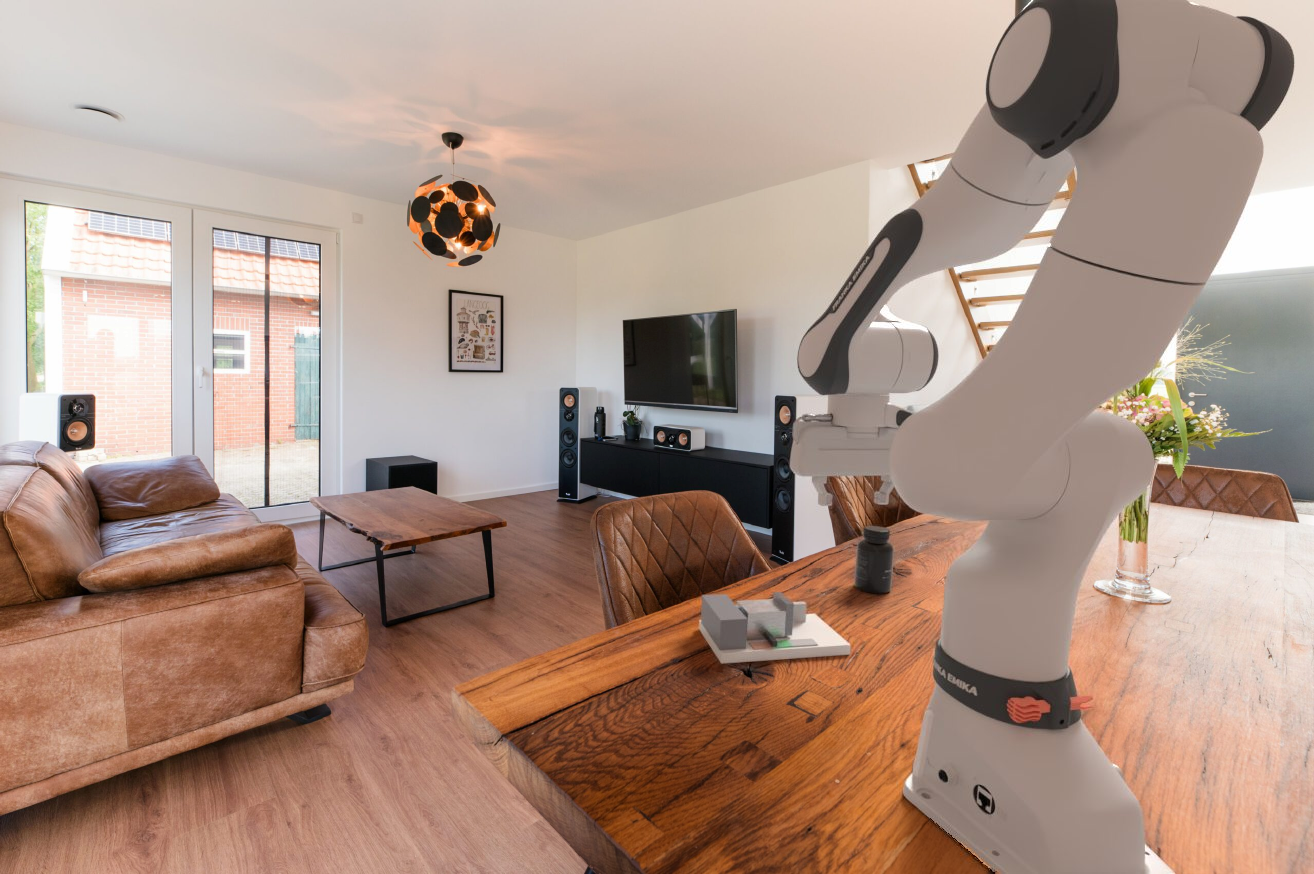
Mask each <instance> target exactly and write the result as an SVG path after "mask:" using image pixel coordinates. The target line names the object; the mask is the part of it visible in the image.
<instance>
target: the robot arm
mask: <svg viewBox="0 0 1314 874" xmlns="http://www.w3.org/2000/svg"><path fill="white" fill-rule="evenodd" d="M1294 54H1295V53H1294V51H1293V48H1292V46H1291V44H1290V41H1288V40H1287V39H1286V37H1284V36H1283V35H1282V33H1280V32H1279V31H1278V30H1277V29H1275V28H1274V27H1272V26H1270V25H1268V24H1267V23H1265V22H1263V21H1261V20H1259V19H1257V18H1255V17H1251V16H1247V15H1246V16H1245V15H1241V16H1240V15H1237V16H1234V15H1231V14H1229V13H1227V12H1224V11H1220V10H1218V9H1215V8H1211V7H1209V6H1204V5H1202V4H1197V3H1194V2H1190V1H1189V0H1031V1H1030V2H1028V4H1026V6H1025V7H1024V8H1023V9H1022V10H1021V11H1020V12H1019V13H1018V14H1017V15H1016V16H1015V18H1013V20H1012V21H1011V22H1010V23H1009V25H1008V27H1007V28H1006V29H1005V31H1004V33H1003V34H1002V36H1001V38H1000V39H999V42H998V43H997V46H996V48H995V50H994V52H993V55H992V58H991V61H990V63H989V66H988V70H987V75H986V79H985V81H986V82H985V99H986V102H984V104H983V106H982V107H981V108H980V110H979V111H978V112H977V114H976V116H975V118H973V120H972V122H971V123H970V125H969V127H968V128H967V130H966V132H965V133H964V135H963V137H962V139H961V140H960V142H958V143H959V144H958V145H957V147H956V149H955V151H954V152H953V154H952V157H951V159H950V160H949V161H948V164H947V165H946V167H944V168H945V169H943V172H942V173H941V174H940V175H939V177H938V178H937V180H935V182H933V184H932V185H931V186H930V187H929V188H928V189H927V190H926V192H924V193H923V195H922V196H920V197H919V198H918V199H917V200H916V201H915V202H913V203H912V204H911V205H910V206H908V208H906V209H904V210H902V211H901V212H899V213H897V214H895V215H894V216H892V218H890V219H889V220H888V221H887V222H886V223H885V224H884V226H883V227H882V228H881V230H880V231H879V232H878V234H877V235H876V236H875V238H874V239H873V240H872V242H871V243H870V245H869V246H868V248H867V249H866V250H865V252H864V254H862V256H861V258H860V259H859V261H858V262H857V264H856V265H855V267H854V268H853V270H852V271H851V272H850V274H849V276H848V277H847V278H846V280H845V282H844V283H843V285H842V286H841V287H840V289H839V291H838V292H837V294H836V296H834V298H833V300H832V301H831V303H830V304H829V305H828V307H827V309H825V310H824V312H823V313H822V314H821V316H820V317H818V318H817V320H816V321H814V323H812V325H811V326H810V327H809V328H808V329H807V331H806V332H805V333H804V335H803V337H802V338H801V341H800V343H799V347H798V351H797V357H796V358H797V359H796V360H797V368H798V369H797V370H798V372H799V374H800V376H801V377H802V379H803V380H804V381H805V382H806V384H807V385H808V386H809V387H810V388H812V390H813V391H815V392H816V393H817V394H818V395H821V396H827V399H828V400H827V413H818V414H817V413H816V414H813V413H804V414H802V415H801V416H799V417H797V418H796V419H795V421H793V425H792V439H793V440H792V445H791V450H790V458H789V468H790V470H791V472H792V473H793V474H794V475H797V476H800V477H811V483H812V484H813V485H812V486H813V487H814V489H815V490H816V493H817V503H818V505H819V506H822V507H830V506H831V507H832V505H833V499H834V498H833V497H834V495H833V494H831V493H830V492H828V491H827V490H826V487H825V485H824V484H827V481H828V477H857V476H858V477H859V476H861V477H862V476H863V477H867V476H868V477H869V476H870V477H872V476H873V477H874V476H875V477H876V476H879V477H880V481H882V482H883V483H882V484H881V487H880V488H879V490H878V491H874V492H873V496H874V498H873V502H874V504H877V505H881V506H882V505H885V506H886V505H888V504H890V503H889V501H890V494H891V492H892V491H893V489H895V491H896V493H897V494H898V496H899V497H900V498H901V500H903V502H904V503H905V504H906V505H907V506H908V508H910V509H912V510H913V511H915V512H918V513H920V514H924V515H929V516H934V517H939V518H942V519H949V520H954V521H955V520H956V521H961V522H987V521H988V523H987V524H986V527H985V528H984V530H983V531H982V533H981V535H980V536H979V538H978V539H977V540H976V541H975V543H974V544H973V545H972V546H971V547H970V548H968V549H967V550H966V551H964V552H963V553H961V554H960V555H959V556H958V557H957V558H956V559H955V560H953V562H952V563H951V564H950V566H949V567H948V569H947V571H946V575H945V579H944V591H943V604H942V616H941V627H940V629H941V630H940V637H939V638H938V639H937V640H936V642H935V646H934V647H935V649H934V652H933V656H932V664H933V668H932V676H933V677H932V678H933V680H934V681H935V683H934V684H935V685H934V689H933V692H932V694H931V697H930V699H929V701H928V702H929V703H928V704H927V707H926V708H925V711H924V714H923V717H922V718H923V719H922V722H921V728H920V732H919V738H918V742H917V747H916V749H917V750H916V754H915V758H914V760H913V762H912V763H913V764H912V772H911V773H910V774H909V775H908V777H907V778H906V779H905V781H904V783H903V789H902V794H903V796H904V797H905V798H906V800H907V801H909V802H910V803H911V804H912V805H913V806H915V807H916V808H917V809H918V810H919V811H920V812H921V813H923V814H924V815H925V816H927V817H928V818H929V819H930V818H931V819H932V820H933V821H935V822H934V823H935V824H936V823H937V824H938V825H939V826H940V827H939V826H938V825H937V824H936V825H937V826H938V827H939V828H941V827H942V828H943V829H944V830H945V831H946V832H947V833H946V832H945V831H944V830H943V829H942V828H941V829H942V830H943V831H944V832H945V833H946V834H948V833H949V834H950V835H952V836H953V837H954V838H955V839H957V840H958V841H960V842H962V843H963V844H964V845H965V846H967V848H969V849H971V851H972V852H973V853H975V854H976V855H977V856H978V857H979V858H981V860H983V862H985V863H986V864H987V865H988V866H990V867H991V868H993V869H995V871H997V872H999V873H1001V874H1176V873H1175V871H1173V870H1172V869H1171V868H1170V867H1169V866H1168V864H1166V862H1164V861H1163V859H1162V858H1161V857H1159V856H1158V855H1157V854H1156V853H1155V852H1154V851H1153V850H1152V849H1151V848H1150V847H1149V846H1148V845H1147V844H1146V834H1145V832H1146V831H1145V830H1146V829H1145V821H1144V815H1143V810H1142V806H1141V804H1140V802H1139V800H1138V798H1137V796H1136V795H1135V794H1134V793H1133V791H1132V790H1131V788H1130V787H1129V786H1128V784H1127V783H1126V778H1125V776H1124V773H1123V771H1122V770H1121V768H1120V767H1119V766H1118V765H1117V764H1115V763H1113V762H1111V761H1110V759H1109V758H1108V756H1107V755H1106V754H1105V752H1104V751H1103V749H1102V748H1101V747H1100V745H1099V744H1098V741H1096V740H1095V737H1094V736H1093V735H1092V733H1091V732H1090V731H1089V729H1088V728H1087V726H1086V725H1085V724H1084V722H1083V720H1082V719H1081V718H1082V710H1086V709H1092V708H1093V705H1091V704H1086V703H1088V702H1090V701H1092V700H1094V696H1093V695H1083V696H1082V695H1081V696H1078V692H1077V688H1076V684H1075V679H1074V675H1073V672H1072V669H1071V668H1070V666H1069V657H1070V651H1071V650H1070V649H1071V648H1070V647H1071V641H1072V640H1071V639H1072V633H1073V627H1074V619H1075V612H1076V607H1077V606H1076V605H1077V600H1078V595H1079V591H1080V589H1081V586H1082V582H1083V580H1084V577H1085V575H1086V572H1087V569H1088V567H1089V566H1090V563H1091V561H1092V559H1093V557H1094V555H1095V553H1096V551H1097V549H1098V547H1099V545H1100V543H1101V541H1102V540H1103V538H1104V536H1106V535H1105V534H1106V533H1107V532H1108V530H1109V528H1110V527H1111V525H1112V524H1113V522H1114V521H1115V519H1116V518H1117V517H1118V516H1119V515H1120V514H1121V513H1122V512H1123V511H1124V510H1125V509H1126V508H1127V507H1129V506H1130V505H1131V504H1132V503H1134V502H1135V501H1137V499H1139V498H1140V497H1141V496H1142V495H1143V494H1144V492H1145V491H1146V489H1147V488H1148V487H1149V485H1150V482H1151V480H1152V478H1153V475H1154V470H1155V456H1154V452H1153V451H1154V450H1153V448H1152V445H1151V442H1150V440H1149V438H1148V436H1147V435H1146V433H1144V430H1142V429H1141V428H1140V427H1139V426H1138V425H1137V424H1136V423H1135V422H1133V421H1132V420H1130V419H1128V418H1125V417H1124V416H1121V415H1118V414H1114V413H1111V412H1108V411H1104V410H1100V409H1098V408H1100V406H1102V405H1104V404H1105V403H1106V402H1107V401H1109V400H1110V399H1112V398H1114V397H1115V396H1116V395H1119V394H1121V393H1123V392H1124V391H1126V390H1128V389H1131V388H1133V387H1134V386H1136V385H1137V384H1139V383H1141V381H1142V380H1144V379H1145V378H1146V377H1147V376H1148V375H1149V374H1150V373H1152V371H1154V369H1155V368H1156V367H1157V365H1158V363H1159V361H1160V360H1161V359H1162V357H1163V355H1164V353H1166V350H1167V348H1168V347H1169V345H1170V344H1171V341H1172V340H1173V338H1174V337H1175V335H1176V334H1177V332H1178V330H1179V328H1180V327H1181V326H1182V324H1183V322H1184V320H1185V318H1186V317H1187V316H1188V314H1189V312H1190V310H1191V309H1192V308H1193V306H1194V304H1195V302H1196V300H1197V299H1198V297H1199V296H1200V294H1201V292H1202V290H1203V289H1204V288H1205V286H1206V284H1207V282H1208V281H1209V279H1210V277H1211V275H1212V274H1213V273H1214V270H1215V268H1216V267H1217V265H1218V263H1219V262H1220V259H1221V257H1222V256H1223V254H1224V251H1226V248H1227V246H1228V244H1229V242H1230V240H1231V239H1232V236H1233V234H1234V232H1235V230H1236V227H1237V225H1238V224H1239V222H1240V220H1241V217H1242V215H1243V213H1244V211H1245V207H1246V205H1247V203H1248V200H1249V197H1250V195H1251V193H1252V190H1253V187H1254V184H1255V183H1256V178H1257V177H1258V173H1259V170H1260V167H1261V164H1262V161H1263V157H1264V147H1265V146H1264V141H1263V137H1262V136H1261V133H1260V131H1261V130H1263V128H1264V127H1265V126H1266V125H1267V124H1268V123H1269V121H1271V119H1272V118H1273V116H1275V114H1276V113H1277V111H1278V110H1279V108H1280V106H1281V105H1282V103H1283V101H1284V100H1285V98H1286V96H1287V94H1288V92H1289V90H1290V88H1291V87H1290V86H1291V83H1292V80H1293V78H1294V77H1293V76H1294V71H1295V55H1294ZM1074 168H1075V170H1076V180H1075V181H1076V183H1075V186H1074V190H1073V192H1072V195H1071V197H1070V201H1069V202H1068V204H1067V206H1066V209H1065V210H1064V213H1063V215H1062V216H1061V218H1060V220H1059V222H1058V224H1057V226H1056V228H1055V230H1054V233H1053V234H1052V236H1051V238H1050V241H1049V244H1048V245H1047V247H1046V249H1045V252H1044V254H1043V256H1042V258H1041V261H1040V262H1039V265H1038V266H1037V269H1036V270H1035V272H1034V275H1033V277H1032V279H1031V281H1030V283H1029V285H1028V287H1027V289H1026V292H1025V293H1024V295H1023V298H1022V299H1021V301H1020V304H1019V306H1018V307H1017V309H1016V312H1015V314H1014V315H1013V318H1012V319H1011V321H1010V323H1009V325H1007V327H1006V329H1005V331H1004V332H1003V334H1002V335H1001V336H1000V338H999V340H998V341H997V342H996V344H994V346H993V347H992V349H991V350H990V351H989V352H988V353H987V354H986V355H985V357H984V358H983V359H982V360H981V361H980V362H979V363H978V364H977V365H976V366H975V368H974V369H973V370H972V371H971V372H970V373H969V374H968V375H967V376H966V377H964V379H962V380H961V382H959V383H958V384H957V385H956V386H955V387H954V388H953V389H951V390H949V392H948V393H946V394H945V395H944V396H942V397H941V398H939V399H938V400H936V401H935V402H933V403H931V404H930V405H928V406H926V407H925V408H922V409H921V410H919V411H916V412H913V411H912V410H908V409H906V408H903V407H901V406H899V405H896V404H893V403H890V396H891V395H890V394H908V393H913V392H919V391H921V390H922V389H924V388H925V387H926V386H928V384H929V383H930V382H931V381H932V380H933V377H934V375H935V374H936V371H937V369H938V365H939V364H938V363H939V348H938V347H939V346H938V344H937V340H936V338H935V336H934V334H933V333H932V332H931V331H930V329H928V327H926V326H924V325H919V324H917V323H913V322H910V321H907V320H903V319H901V318H899V317H897V316H895V315H894V314H893V313H892V311H891V308H890V307H888V306H887V304H888V303H889V301H890V300H891V299H892V297H893V296H894V295H895V294H896V293H897V292H898V291H899V290H900V289H902V288H903V287H905V286H906V285H909V284H910V283H911V282H913V281H916V280H917V279H920V278H922V277H925V276H928V275H932V274H933V273H937V272H941V271H945V270H948V269H952V268H953V269H954V268H956V267H957V268H958V267H961V266H967V265H972V264H978V263H982V262H985V261H989V260H992V259H994V258H997V257H999V256H1001V255H1004V254H1006V253H1008V252H1009V251H1011V250H1012V249H1013V248H1015V247H1016V246H1017V245H1018V244H1019V243H1021V241H1022V240H1023V239H1025V238H1026V236H1028V235H1029V234H1030V233H1031V231H1032V230H1034V228H1035V226H1037V224H1038V223H1039V221H1040V220H1041V219H1042V217H1043V216H1044V214H1045V213H1046V211H1047V210H1048V208H1049V207H1050V206H1051V204H1052V203H1053V201H1054V200H1055V198H1056V197H1057V195H1058V193H1059V192H1060V191H1061V189H1062V188H1063V186H1064V184H1065V183H1066V182H1067V180H1068V179H1069V177H1070V175H1071V173H1072V172H1073V170H1074ZM931 819H930V820H931ZM932 820H931V821H932ZM933 821H932V822H933ZM949 834H948V835H949ZM950 835H949V836H950ZM955 839H954V840H955Z"/></svg>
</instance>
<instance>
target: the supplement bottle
mask: <svg viewBox="0 0 1314 874" xmlns="http://www.w3.org/2000/svg"><path fill="white" fill-rule="evenodd" d="M890 532H891V531H890V529H889V528H887V527H884V526H877V525H868V526H867V525H866V526H864V527H863V533H862V538H863V539H861V540H859V541H858V543H857V544H856V545H857V546H856V555H855V556H856V558H855V567H854V568H855V572H854V586H855V587H856V589H858V590H860V591H862V592H865V593H868V594H875V595H876V594H877V595H880V594H882V595H883V594H888V593H889V592H890V591H891V588H892V581H893V580H892V579H893V568H894V567H893V566H894V558H895V557H894V555H895V553H894V552H895V548H894V546H893V545H892V544H891V542H889V541H890V539H891V538H890V535H891V533H890Z"/></svg>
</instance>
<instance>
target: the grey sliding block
mask: <svg viewBox="0 0 1314 874" xmlns="http://www.w3.org/2000/svg"><path fill="white" fill-rule="evenodd" d="M772 597H773V598H767V599H766V598H765V599H745V600H744V599H743V600H737V601H736V605H737V607H738V609H739V610H740V611H741V612H742V613H743V614H744V615H745V617H746V618H747V637H746V638H747V639H753V638H765V639H766V640H767V641H768V642H769V643H770V644H771V646H772V647H777V640H776V639H775V638H774V637H785V636H791V635H792V628H793V609H794V603H793V602H794V601H791V599H789V598H788V597H787V595H785V594H784V593H783V592H781V591H773V596H772Z"/></svg>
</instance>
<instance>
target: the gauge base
mask: <svg viewBox="0 0 1314 874" xmlns="http://www.w3.org/2000/svg"><path fill="white" fill-rule="evenodd" d="M792 602H793V603H794V609H793V628H792V635H791V636H785V637H774V638H775V639H776V640H777V647H772V646H771V644H770V643H769V642H768V641H767V640H766V639H765V638H753V639H747V638H746V637H747V618H746V617H745V615H744V614H743V613H742V612H741V611H740V610H739V609H738V607H737V604H735V602H733V600H732V599H731V598H730V597H729V595H728V594H727V593H719V594H718V593H717V594H701V612H700V613H701V615H700V619H699V620H698V630H699V631H700V633H701V634H702V636H703V638H704V639H705V641H706V642H707V644H708V645H709V647H710V649H711V650H712V652H713V653H714V655H715V656H716V657H717V659H718V661H719V663H720V664H734V663H747V662H748V663H749V662H762V661H763V662H764V661H776V660H777V661H778V660H789V659H790V660H792V659H802V658H803V659H805V658H818V657H820V658H821V657H835V656H846V655H847V656H849V655H851V647H852V646H851V644H850V643H849V642H848V641H847V640H846V639H845V638H843V636H841V635H840V634H839V633H837V631H835V629H833V628H832V627H831V626H829V625H828V624H827V623H826V622H825V621H824V620H823V619H821V618H820V617H819V615H817V614H816V613H807V605H808V604H807V603H806V601H792Z"/></svg>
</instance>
